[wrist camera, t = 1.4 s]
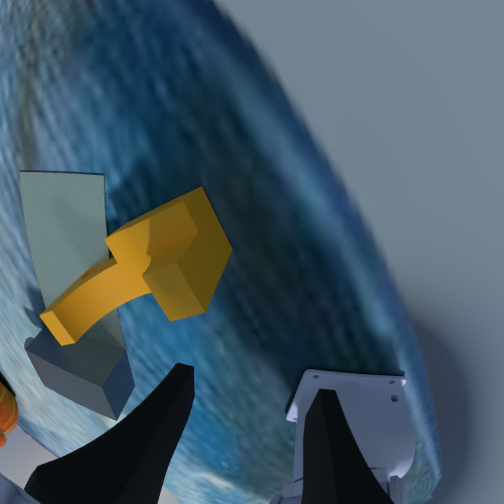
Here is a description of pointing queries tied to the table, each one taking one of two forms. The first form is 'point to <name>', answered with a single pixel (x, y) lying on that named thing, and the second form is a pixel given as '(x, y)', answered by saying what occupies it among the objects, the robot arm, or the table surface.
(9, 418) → the pumpkin
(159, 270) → the pipe clamp
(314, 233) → the table surface
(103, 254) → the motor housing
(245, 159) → the table surface
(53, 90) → the table surface
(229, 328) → the table surface
